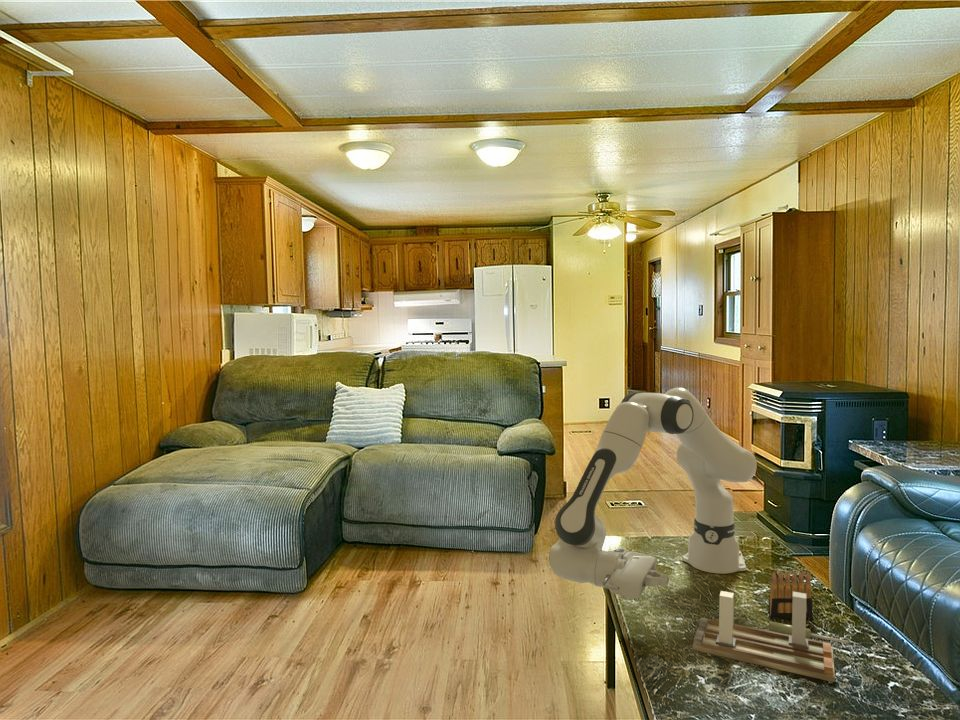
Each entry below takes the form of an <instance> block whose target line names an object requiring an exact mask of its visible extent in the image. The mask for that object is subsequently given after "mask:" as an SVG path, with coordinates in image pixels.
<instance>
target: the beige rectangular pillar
mask: <svg viewBox="0 0 960 720" xmlns="http://www.w3.org/2000/svg"><path fill="white" fill-rule="evenodd" d="M734 597H735V593H734V592H730V591H723V590H720V593H719V609H718V614H719V615H718V616H719V617H718V621H719V635H718V636H717V640H716V644H718V645H723V646H727V647H732V648H735V645H736V638H733V624H734V613H735V611H734V607H735V605H734V604H735V603H734V601H735V600H734Z"/></svg>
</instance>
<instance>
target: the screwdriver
mask: <svg viewBox="0 0 960 720" xmlns="http://www.w3.org/2000/svg"><path fill="white" fill-rule="evenodd" d="M768 631H772V632H777V633H782V634H787V635H792V624H787V623H782V622H781V623H780V622H776V621H770V620H769V622H768ZM811 637H813V638H817V639H821V640H827V641H831V642H837V643H841V644H846V645H849V644H850V641H849V640H848V639H846V640H845V639H841V638H836V637H832V636H826V635H821V634H817V633H811V629H810V628H807V627H806V637H805V638H807V639H811Z"/></svg>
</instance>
